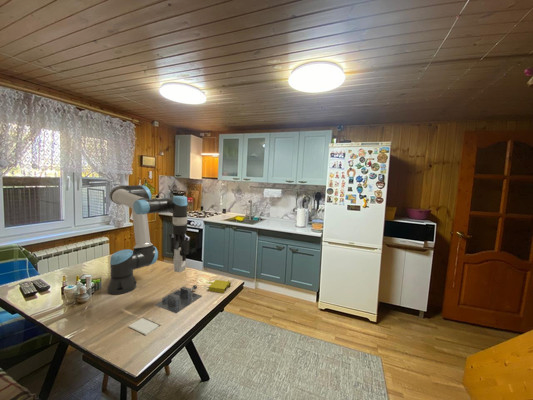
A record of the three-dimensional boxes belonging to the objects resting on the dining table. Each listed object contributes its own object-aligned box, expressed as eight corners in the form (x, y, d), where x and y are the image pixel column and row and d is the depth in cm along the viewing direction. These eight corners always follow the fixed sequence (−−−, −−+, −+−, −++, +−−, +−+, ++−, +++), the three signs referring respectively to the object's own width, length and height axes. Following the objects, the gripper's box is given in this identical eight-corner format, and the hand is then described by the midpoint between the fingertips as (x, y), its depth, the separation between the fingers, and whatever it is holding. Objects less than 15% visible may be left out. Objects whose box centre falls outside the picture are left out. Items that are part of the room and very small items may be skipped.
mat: (128, 326, 106) (128, 325, 106) (158, 309, 120) (158, 308, 120) (146, 335, 101) (146, 334, 101) (174, 316, 115) (174, 315, 115)
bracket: (211, 272, 153) (232, 274, 150) (211, 283, 154) (232, 286, 151) (200, 282, 138) (223, 285, 135) (200, 294, 139) (223, 297, 136)
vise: (154, 306, 123) (154, 296, 122) (186, 288, 144) (186, 279, 143) (176, 315, 116) (176, 304, 115) (206, 295, 137) (206, 285, 136)
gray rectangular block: (174, 271, 126) (174, 249, 125) (183, 266, 132) (183, 246, 131) (179, 272, 124) (179, 250, 123) (188, 268, 130) (189, 247, 129)
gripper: (163, 223, 125) (163, 264, 127) (186, 227, 117) (186, 270, 120) (174, 221, 131) (173, 260, 134) (196, 225, 124) (196, 266, 126)
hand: (179, 265), depth 127 cm, fingers closed on gray rectangular block, 4 cm apart
